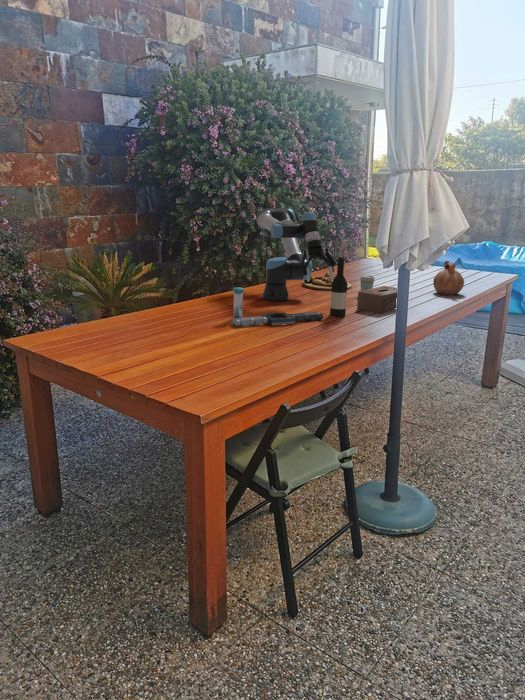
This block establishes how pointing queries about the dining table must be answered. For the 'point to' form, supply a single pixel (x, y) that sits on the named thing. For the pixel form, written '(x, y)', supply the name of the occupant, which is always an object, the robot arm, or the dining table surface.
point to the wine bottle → (339, 291)
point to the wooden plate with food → (321, 283)
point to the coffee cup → (366, 282)
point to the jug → (448, 280)
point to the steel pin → (238, 302)
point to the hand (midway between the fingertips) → (320, 279)
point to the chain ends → (276, 319)
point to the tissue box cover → (377, 299)
